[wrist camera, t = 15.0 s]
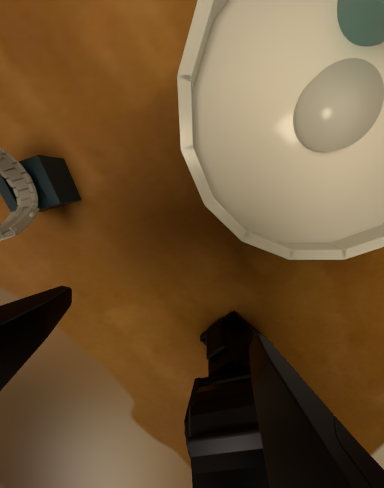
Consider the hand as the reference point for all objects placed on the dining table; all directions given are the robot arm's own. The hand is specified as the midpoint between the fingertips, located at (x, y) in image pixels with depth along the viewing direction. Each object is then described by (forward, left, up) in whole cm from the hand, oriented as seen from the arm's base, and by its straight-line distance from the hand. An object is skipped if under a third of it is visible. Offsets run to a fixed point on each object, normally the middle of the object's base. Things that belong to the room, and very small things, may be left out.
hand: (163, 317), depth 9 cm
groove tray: (-1, -17, -13) cm, 21 cm away
